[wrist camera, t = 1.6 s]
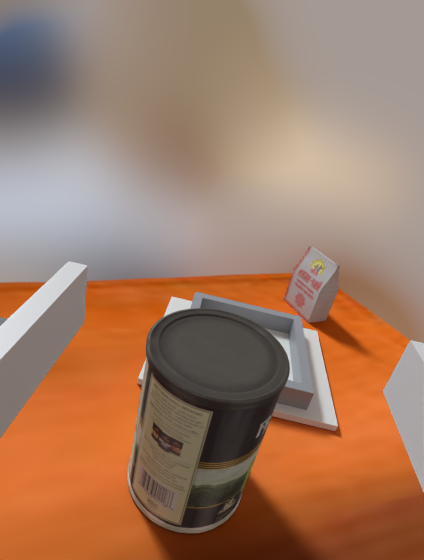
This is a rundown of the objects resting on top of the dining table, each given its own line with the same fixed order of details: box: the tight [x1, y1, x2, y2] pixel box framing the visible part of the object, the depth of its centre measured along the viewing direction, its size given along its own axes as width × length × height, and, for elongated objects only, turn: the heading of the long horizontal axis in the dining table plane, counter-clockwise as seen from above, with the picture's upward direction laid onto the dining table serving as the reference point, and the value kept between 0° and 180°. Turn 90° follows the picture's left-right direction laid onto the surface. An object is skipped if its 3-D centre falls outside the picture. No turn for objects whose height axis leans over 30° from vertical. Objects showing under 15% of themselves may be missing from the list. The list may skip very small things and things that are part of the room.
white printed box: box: [284, 246, 340, 323], centre depth 62 cm, size 4×7×10 cm, turn 25°
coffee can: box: [127, 308, 290, 534], centre depth 31 cm, size 10×10×14 cm
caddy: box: [137, 292, 338, 431], centre depth 50 cm, size 22×18×3 cm
